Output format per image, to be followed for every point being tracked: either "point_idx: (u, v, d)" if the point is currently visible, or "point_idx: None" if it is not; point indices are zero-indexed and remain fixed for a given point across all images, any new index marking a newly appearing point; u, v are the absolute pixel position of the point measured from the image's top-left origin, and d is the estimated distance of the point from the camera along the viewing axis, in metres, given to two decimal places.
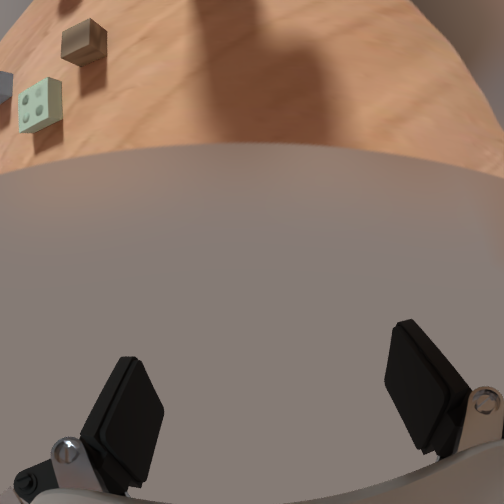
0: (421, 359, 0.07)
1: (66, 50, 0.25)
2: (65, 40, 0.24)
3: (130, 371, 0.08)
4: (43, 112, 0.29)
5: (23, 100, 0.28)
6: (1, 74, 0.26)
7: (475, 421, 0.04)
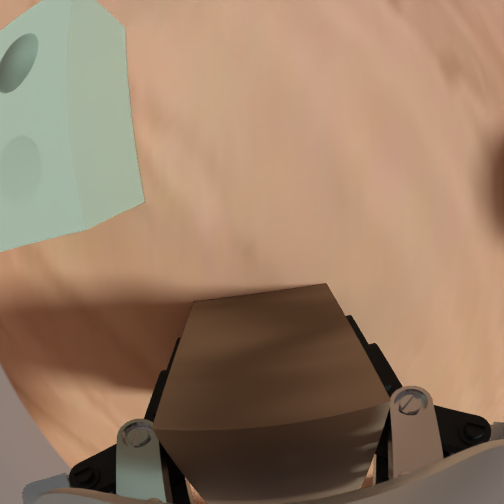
0: None
1: (199, 452, 0.05)
2: (292, 442, 0.05)
3: None
4: None
5: (31, 35, 0.04)
6: None
7: (404, 424, 0.05)
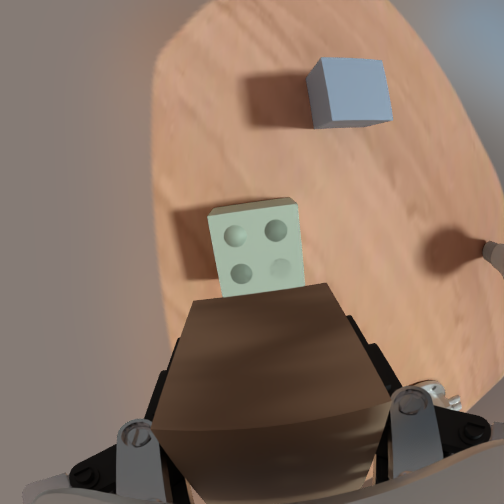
0: None
1: (198, 453, 0.05)
2: (291, 442, 0.05)
3: None
4: (234, 284, 0.24)
5: (279, 219, 0.22)
6: (372, 123, 0.20)
7: (404, 424, 0.05)
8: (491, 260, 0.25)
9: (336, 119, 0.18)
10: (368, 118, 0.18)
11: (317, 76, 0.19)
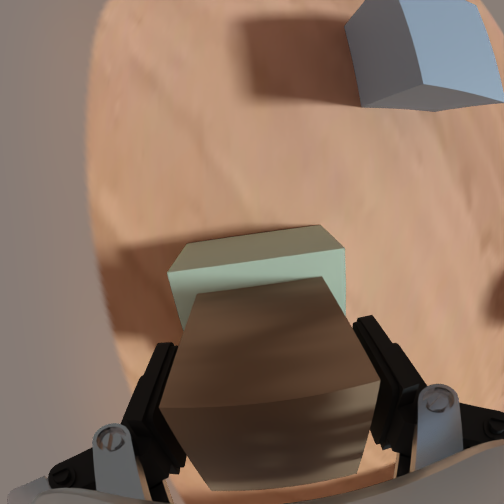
0: (374, 354, 0.08)
1: (202, 431, 0.06)
2: (289, 419, 0.06)
3: (169, 356, 0.09)
4: None
5: (308, 277, 0.11)
6: (463, 104, 0.09)
7: (430, 421, 0.05)
8: None
9: (430, 83, 0.07)
10: (476, 91, 0.07)
11: (376, 11, 0.08)
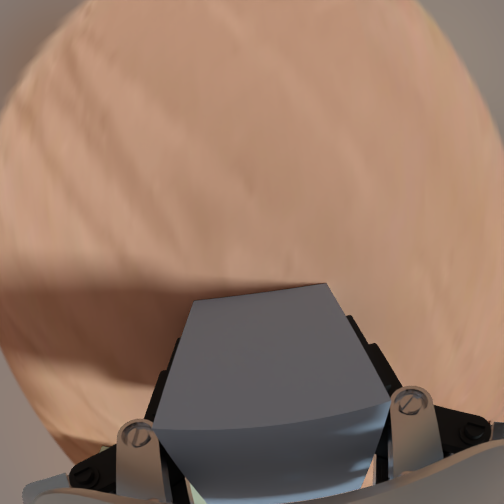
0: None
1: None
2: None
3: None
4: None
5: None
6: None
7: (404, 424, 0.05)
8: None
9: None
10: (296, 500, 0.06)
11: None
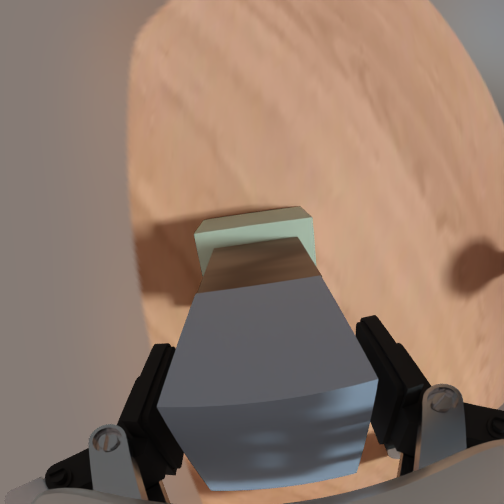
0: (378, 354, 0.08)
1: None
2: None
3: (166, 357, 0.09)
4: None
5: (288, 237, 0.17)
6: None
7: (434, 421, 0.05)
8: None
9: (219, 489, 0.07)
10: (294, 484, 0.07)
11: None
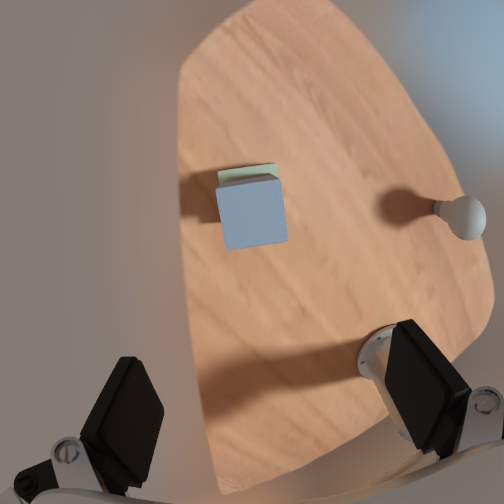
0: (421, 359, 0.07)
1: None
2: None
3: (130, 371, 0.08)
4: None
5: (264, 173, 0.33)
6: None
7: (475, 421, 0.04)
8: (439, 214, 0.35)
9: (230, 249, 0.23)
10: (261, 243, 0.23)
11: None
